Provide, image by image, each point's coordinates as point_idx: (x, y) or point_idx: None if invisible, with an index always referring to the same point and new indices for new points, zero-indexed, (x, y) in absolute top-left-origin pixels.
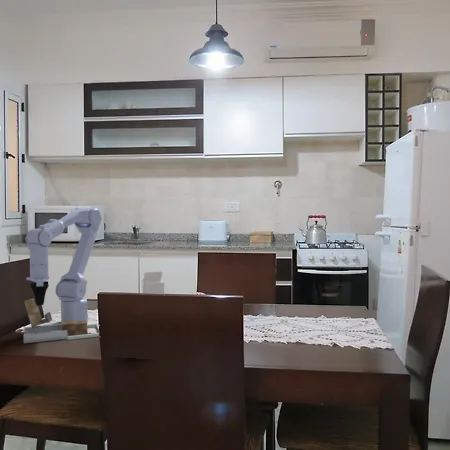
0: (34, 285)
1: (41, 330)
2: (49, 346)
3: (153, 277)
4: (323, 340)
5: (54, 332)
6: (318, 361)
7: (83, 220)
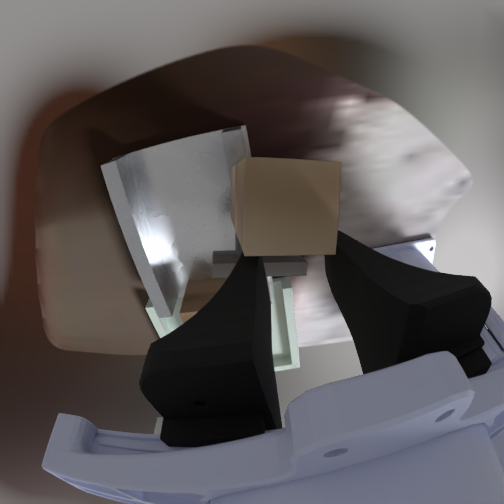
0: (154, 402)
1: None
2: (107, 249)
3: None
4: None
5: (143, 278)
6: None
7: None
